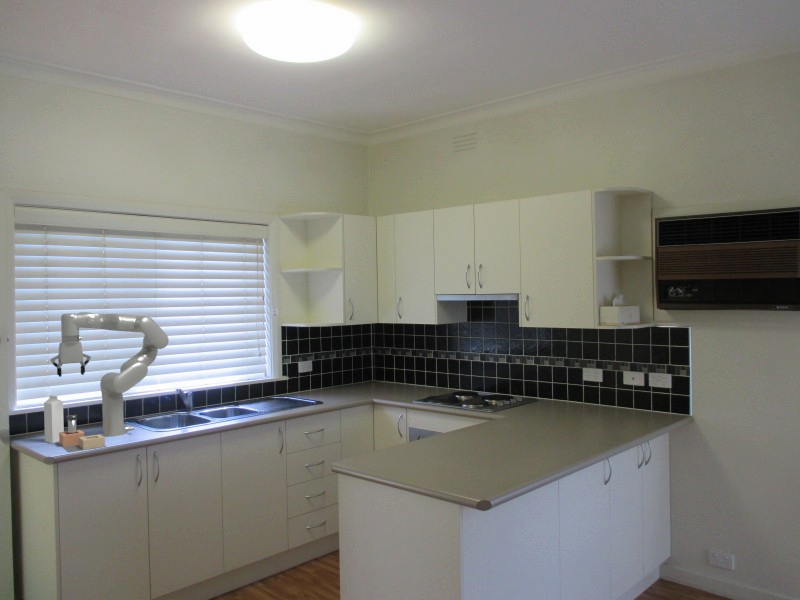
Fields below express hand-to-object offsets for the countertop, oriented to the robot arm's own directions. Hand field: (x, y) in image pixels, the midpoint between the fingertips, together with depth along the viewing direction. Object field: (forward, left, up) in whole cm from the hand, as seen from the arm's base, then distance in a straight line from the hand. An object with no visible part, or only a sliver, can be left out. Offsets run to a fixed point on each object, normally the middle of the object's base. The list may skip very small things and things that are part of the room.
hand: (71, 375), depth 312 cm
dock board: (-1, +12, -32) cm, 34 cm away
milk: (+6, -11, -32) cm, 35 cm away
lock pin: (+1, +6, -31) cm, 32 cm away
